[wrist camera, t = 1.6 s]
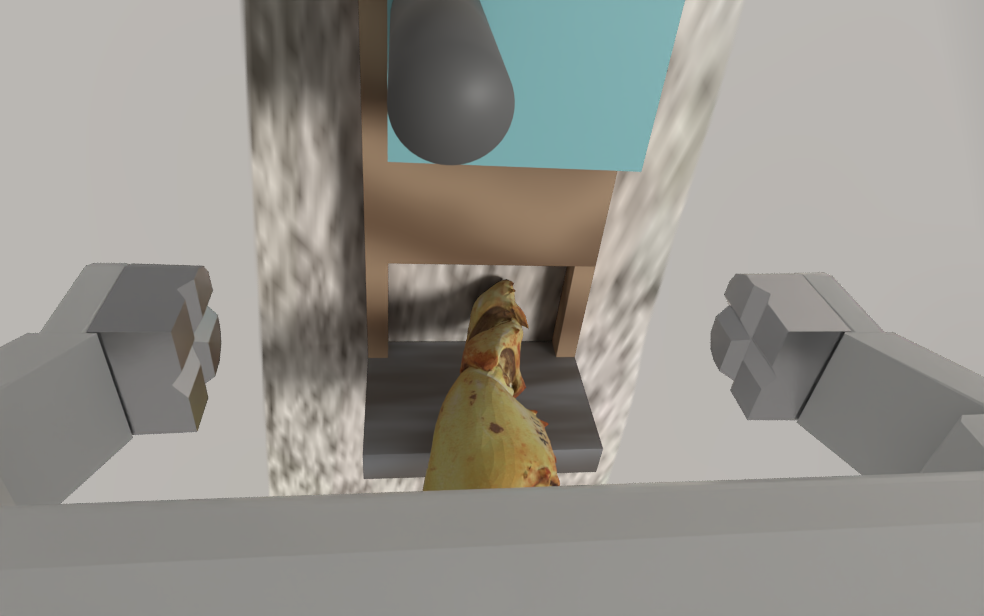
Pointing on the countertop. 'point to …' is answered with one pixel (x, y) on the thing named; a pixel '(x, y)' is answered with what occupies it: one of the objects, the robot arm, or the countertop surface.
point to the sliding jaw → (526, 81)
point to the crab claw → (490, 409)
